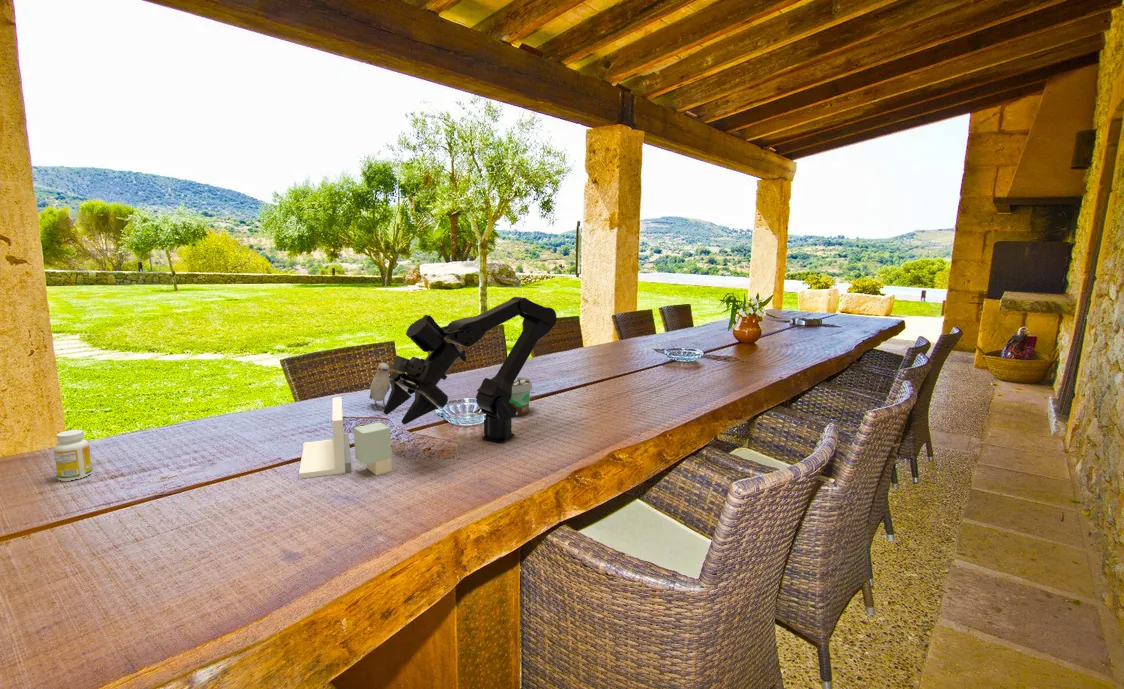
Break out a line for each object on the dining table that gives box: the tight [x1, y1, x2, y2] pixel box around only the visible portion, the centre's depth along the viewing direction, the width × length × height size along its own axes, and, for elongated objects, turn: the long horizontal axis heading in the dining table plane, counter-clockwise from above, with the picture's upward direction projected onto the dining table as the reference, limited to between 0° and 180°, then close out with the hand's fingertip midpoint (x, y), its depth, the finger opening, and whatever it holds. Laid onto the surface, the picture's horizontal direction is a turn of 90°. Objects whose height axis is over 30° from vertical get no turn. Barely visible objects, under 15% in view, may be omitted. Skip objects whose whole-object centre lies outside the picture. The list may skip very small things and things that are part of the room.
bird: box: [369, 362, 391, 408], centre depth 160 cm, size 5×14×15 cm, turn 41°
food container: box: [510, 376, 533, 418], centre depth 158 cm, size 12×6×10 cm, turn 168°
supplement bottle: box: [53, 429, 93, 482], centre depth 108 cm, size 5×5×10 cm
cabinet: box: [353, 421, 393, 476], centre depth 114 cm, size 6×5×10 cm
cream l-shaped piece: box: [298, 396, 352, 480], centre depth 120 cm, size 10×20×12 cm, turn 23°
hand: (393, 418), depth 116 cm, fingers open, 9 cm apart
